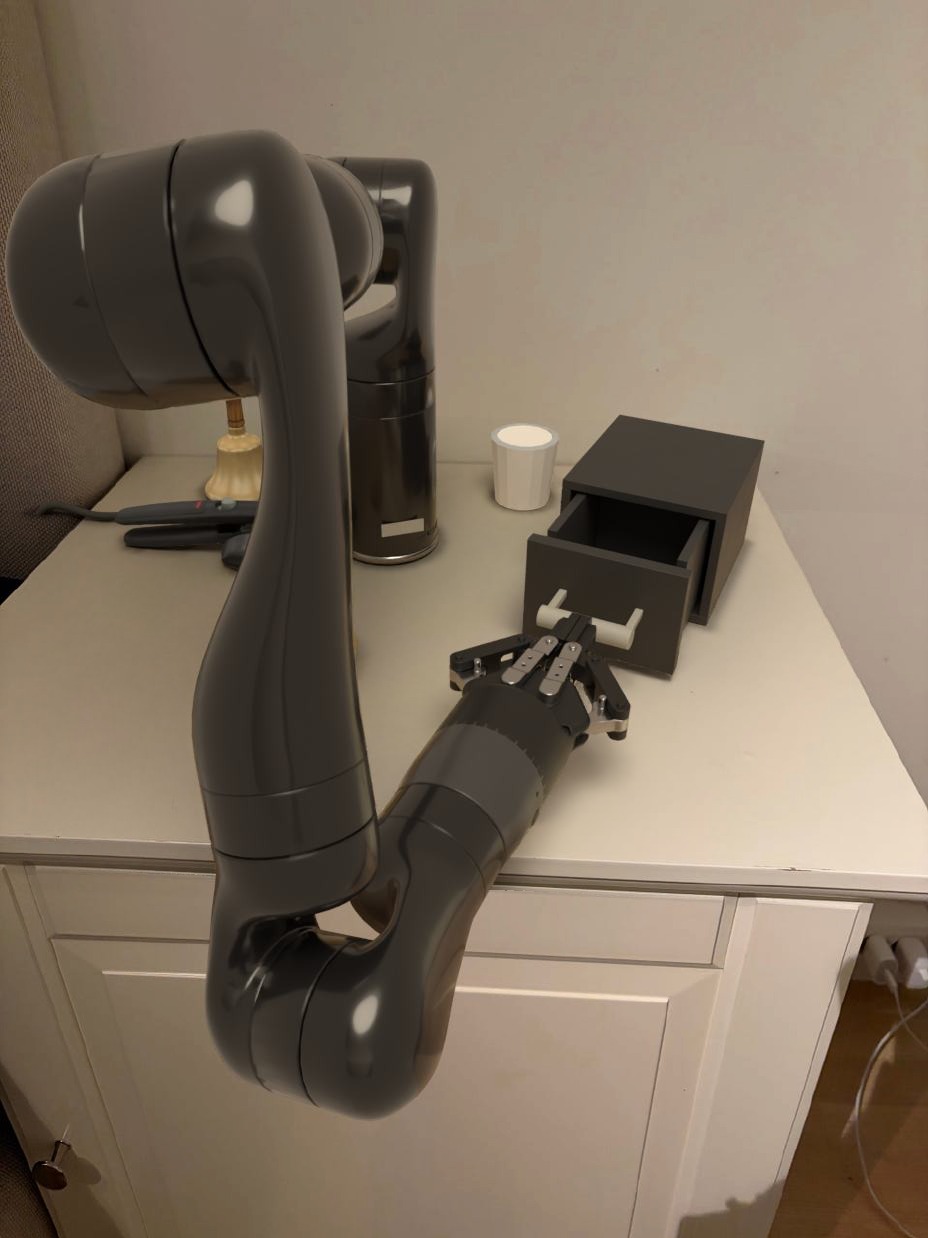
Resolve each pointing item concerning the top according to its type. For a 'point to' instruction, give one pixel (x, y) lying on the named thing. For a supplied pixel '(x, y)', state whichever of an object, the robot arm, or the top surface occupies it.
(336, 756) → the robot arm
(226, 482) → the hand bell
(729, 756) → the top surface
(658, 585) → the cabinet drawer
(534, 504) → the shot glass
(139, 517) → the can opener
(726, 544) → the single drawer cabinet
